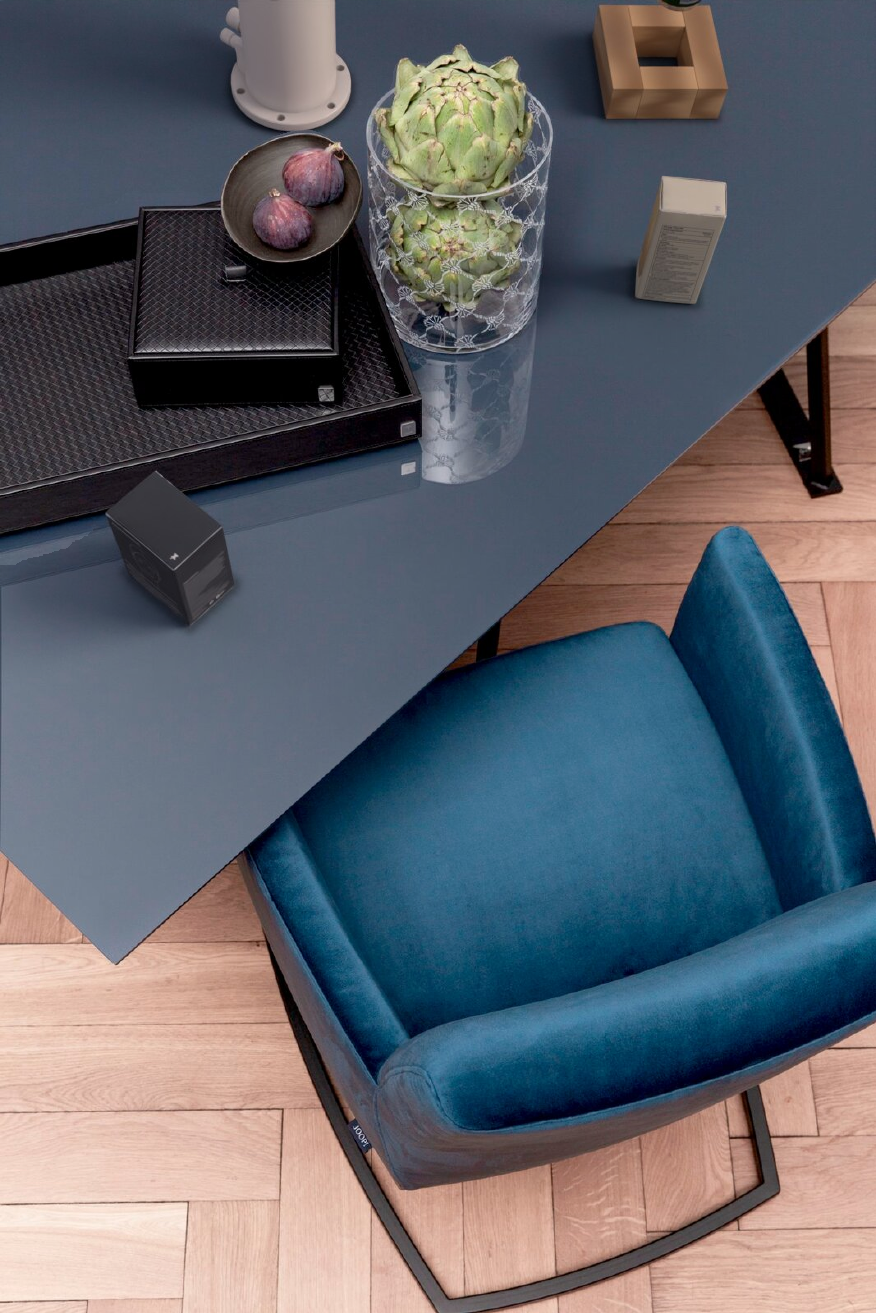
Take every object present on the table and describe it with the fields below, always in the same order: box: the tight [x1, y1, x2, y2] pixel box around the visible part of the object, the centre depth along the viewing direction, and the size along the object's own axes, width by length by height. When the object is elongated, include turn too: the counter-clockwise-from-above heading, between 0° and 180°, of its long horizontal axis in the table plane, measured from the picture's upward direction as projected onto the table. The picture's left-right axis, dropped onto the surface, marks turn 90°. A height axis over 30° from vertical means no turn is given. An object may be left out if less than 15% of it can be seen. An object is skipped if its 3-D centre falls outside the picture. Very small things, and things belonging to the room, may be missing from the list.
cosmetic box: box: [634, 175, 728, 305], centre depth 116 cm, size 6×4×12 cm
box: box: [105, 470, 235, 627], centre depth 100 cm, size 8×6×11 cm
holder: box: [592, 4, 729, 120], centre depth 131 cm, size 12×12×4 cm
